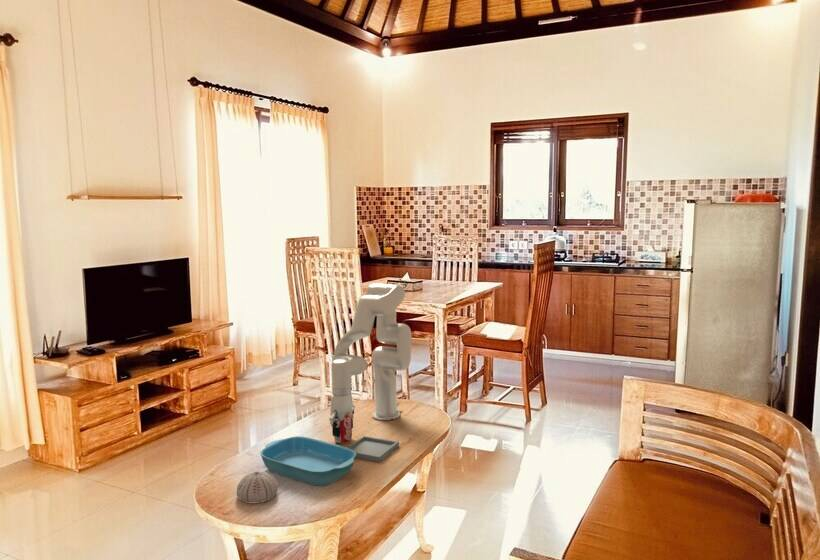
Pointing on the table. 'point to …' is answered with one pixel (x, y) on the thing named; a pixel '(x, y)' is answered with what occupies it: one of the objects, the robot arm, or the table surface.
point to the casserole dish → (308, 460)
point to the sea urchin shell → (257, 487)
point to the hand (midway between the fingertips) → (343, 432)
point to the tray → (373, 448)
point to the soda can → (345, 430)
